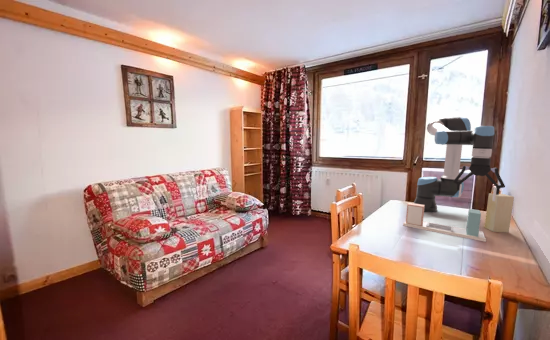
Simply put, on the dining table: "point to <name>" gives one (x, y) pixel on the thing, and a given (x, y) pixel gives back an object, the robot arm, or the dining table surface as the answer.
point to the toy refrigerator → (499, 213)
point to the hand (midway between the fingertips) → (476, 198)
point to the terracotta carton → (415, 214)
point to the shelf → (447, 230)
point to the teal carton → (473, 222)
